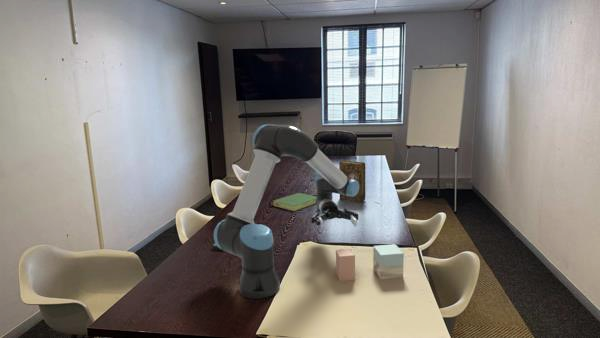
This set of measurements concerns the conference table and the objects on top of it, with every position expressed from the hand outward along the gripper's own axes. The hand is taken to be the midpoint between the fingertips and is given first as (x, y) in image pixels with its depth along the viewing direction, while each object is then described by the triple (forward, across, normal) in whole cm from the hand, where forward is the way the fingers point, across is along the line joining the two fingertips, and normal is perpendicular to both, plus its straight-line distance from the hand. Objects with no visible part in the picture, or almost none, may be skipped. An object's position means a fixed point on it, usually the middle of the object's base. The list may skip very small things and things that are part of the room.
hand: (339, 224), depth 161 cm
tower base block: (+10, -17, -18) cm, 27 cm away
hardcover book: (-92, +7, -19) cm, 94 cm away
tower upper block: (+10, -17, -13) cm, 24 cm away
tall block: (+10, 0, -18) cm, 20 cm away
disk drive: (-30, +45, -19) cm, 57 cm away
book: (-92, -29, -18) cm, 98 cm away
